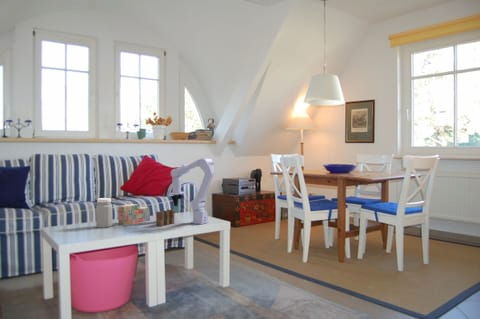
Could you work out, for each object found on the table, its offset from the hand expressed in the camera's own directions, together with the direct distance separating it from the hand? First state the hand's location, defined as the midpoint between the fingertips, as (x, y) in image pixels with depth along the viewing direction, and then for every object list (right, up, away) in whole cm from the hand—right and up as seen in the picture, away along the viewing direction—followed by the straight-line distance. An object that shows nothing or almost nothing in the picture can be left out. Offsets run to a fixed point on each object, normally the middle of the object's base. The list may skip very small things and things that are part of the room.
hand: (176, 205), depth 270 cm
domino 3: (-3, -11, -10) cm, 15 cm away
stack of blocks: (-28, -11, -6) cm, 30 cm away
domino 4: (0, -4, 0) cm, 4 cm away
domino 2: (-5, -11, -14) cm, 19 cm away
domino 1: (-8, -11, -19) cm, 23 cm away
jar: (-43, -11, -22) cm, 49 cm away
